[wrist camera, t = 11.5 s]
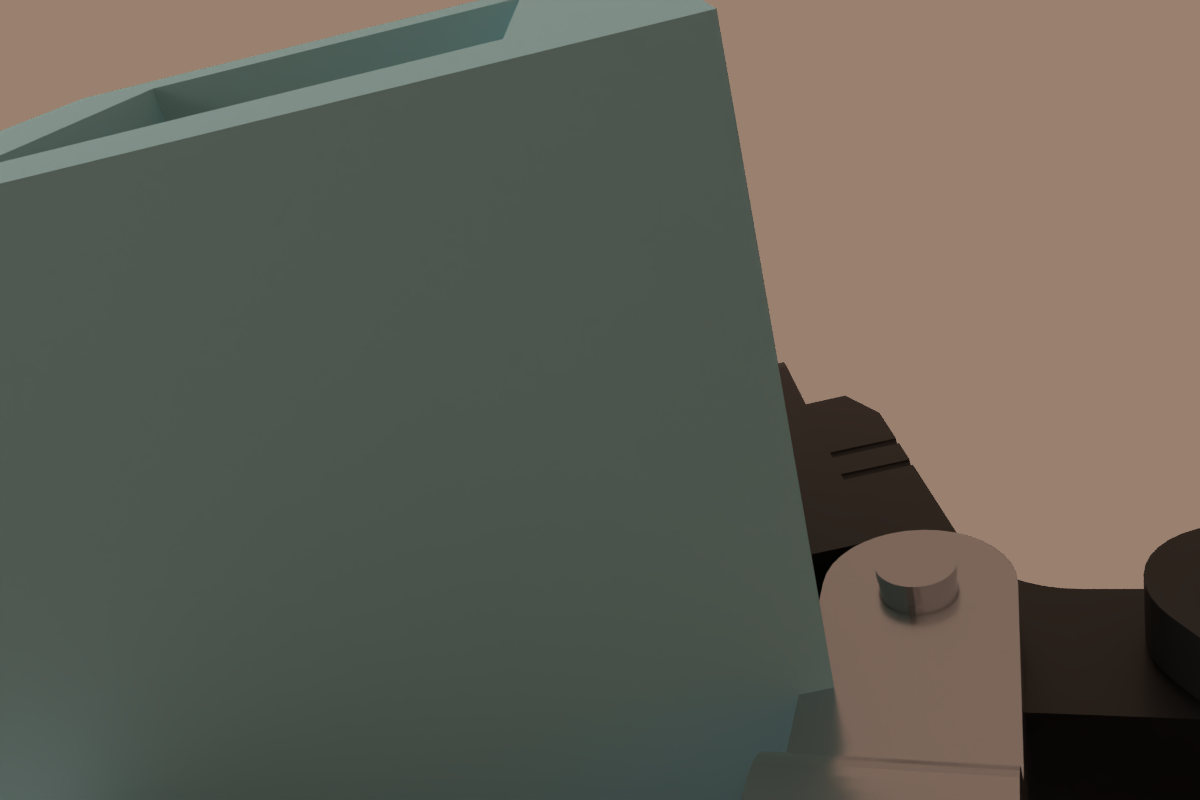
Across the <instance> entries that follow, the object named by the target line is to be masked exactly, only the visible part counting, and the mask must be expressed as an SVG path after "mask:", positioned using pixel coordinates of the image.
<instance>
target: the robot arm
mask: <svg viewBox="0 0 1200 800" xmlns="http://www.w3.org/2000/svg"><path fill="white" fill-rule="evenodd" d="M778 367H779V372H780V378H781V384H782V390H783V395H784V401H785V407H786V413H787V418H788V424H789V430H790V436H791V441H792V447H793V453H794V459H795V464H796V470H797V476H798V482H799V487H800V493H801V499H802V505H803V511H804V516H805V522H806V528H807V534H808V539H809V545H810V551H811V557H812V562H813V568H814V574H815V580H816V585H817V591H818V597H819V603H820V608H821V614H822V620H823V626H824V631H825V637H826V643H827V649H828V654H829V660H830V666H831V672H832V678H833V683H834V688H829V689H824V690H819V691H814V692H809V693H805V694H800V695H799V696H798V700H797V705H796V709H795V714H794V719H793V723H792V728H791V732H790V737H789V741H788V746H787V750H786V752H774V751H761V752H760V753H759V754H757V756H756V757H755V759H754V760H753V762H752V765H751V767H750V770H749V773H748V776H747V780H746V783H745V787H744V791H743V795H742V799H741V800H1200V528H1199V529H1196V530H1192V531H1189V532H1186V533H1183V534H1180V535H1178V536H1176V537H1174V538H1172V539H1170V540H1168V541H1167V542H1165V543H1164V544H1162V545H1161V546H1159V547H1158V548H1157V550H1155V552H1153V553H1152V554H1151V556H1150V557H1149V559H1148V561H1147V563H1146V565H1145V571H1144V589H1064V588H1055V587H1047V586H1041V585H1036V584H1032V583H1027V582H1023V581H1020V580H1017V574H1016V571H1015V569H1014V567H1013V566H1012V564H1011V562H1010V561H1009V560H1008V559H1007V558H1006V556H1005V555H1004V554H1002V553H1001V552H1000V551H999V550H997V549H996V548H995V547H993V546H991V545H989V544H987V543H985V542H984V541H981V540H978V539H976V538H973V537H971V536H967V535H963V534H959V533H956V531H955V530H954V528H953V527H952V525H951V523H950V522H949V520H948V519H947V517H946V516H945V514H944V513H943V511H942V509H941V508H940V506H939V505H938V503H937V502H936V500H935V499H934V497H933V495H932V494H931V493H930V491H929V489H928V488H927V486H926V485H925V483H924V482H923V480H922V478H921V477H920V475H919V474H918V472H917V471H916V469H915V468H914V466H913V465H910V461H909V458H908V457H907V455H906V454H905V452H904V451H903V449H902V447H901V446H900V444H899V443H898V444H897V442H896V438H895V436H894V435H893V433H892V432H891V430H890V429H889V427H888V426H887V424H886V423H885V421H884V419H883V418H882V416H881V415H880V413H878V412H876V411H874V410H873V409H870V408H868V407H866V406H864V405H863V404H861V403H859V402H857V401H854V400H852V399H851V398H849V397H847V396H842V397H838V398H833V399H829V400H824V401H820V402H815V403H810V404H805V402H804V400H803V398H802V396H801V394H800V392H799V390H798V389H797V386H796V384H795V382H794V380H793V378H792V376H791V374H790V372H789V370H788V368H787V367H786V365H785V363H784V362H783V363H778Z"/></svg>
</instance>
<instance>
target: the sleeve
mask: <svg viewBox="0 0 1200 800" xmlns="http://www.w3.org/2000/svg"><path fill="white" fill-rule="evenodd" d="M829 688H834V683H833V678H832V672H831V666H830V660H829V654H828V649H827V643H826V637H825V631H824V626H823V620H822V614H821V608H820V603H819V597H818V591H817V585H816V580H815V574H814V568H813V562H812V557H811V551H810V545H809V539H808V534H807V528H806V522H805V516H804V511H803V505H802V499H801V493H800V487H799V482H798V476H797V470H796V464H795V459H794V453H793V447H792V441H791V436H790V430H789V424H788V418H787V413H786V407H785V401H784V395H783V390H782V384H781V378H780V372H779V367H778V361H777V355H776V349H775V344H774V338H773V332H772V326H771V321H770V315H769V309H768V304H767V298H766V292H765V286H764V280H763V274H762V269H761V263H760V257H759V251H758V246H757V240H756V234H755V229H754V223H753V217H752V211H751V205H750V200H749V194H748V188H747V182H746V177H745V171H744V165H743V160H742V153H741V148H740V142H739V136H738V131H737V125H736V119H735V113H734V108H733V102H732V96H731V90H730V84H729V79H728V73H727V67H726V61H725V56H724V50H723V44H722V38H721V32H720V27H719V21H718V15H717V9H716V8H715V7H713V6H711V5H710V4H708V3H706V2H705V1H703V0H479V1H475V2H471V3H466V4H462V5H458V6H454V7H450V8H446V9H442V10H438V11H434V12H430V13H426V14H422V15H418V16H414V17H410V18H406V19H402V20H399V21H395V22H390V23H386V24H382V25H378V26H374V27H370V28H366V29H362V30H358V31H354V32H350V33H346V34H342V35H337V36H334V37H330V38H326V39H322V40H318V41H313V42H309V43H305V44H301V45H297V46H294V47H289V48H285V49H281V50H277V51H273V52H269V53H265V54H261V55H257V56H253V57H249V58H245V59H241V60H237V61H233V62H229V63H225V64H221V65H217V66H212V67H209V68H204V69H200V70H196V71H192V72H189V73H184V74H180V75H176V76H172V77H168V78H164V79H160V80H156V81H152V82H148V83H144V84H140V85H136V86H132V87H128V88H124V89H120V90H116V91H112V92H108V93H104V94H100V95H96V96H92V97H88V98H83V99H81V100H78V101H76V102H73V103H71V104H68V105H66V106H63V107H61V108H58V109H55V110H53V111H50V112H48V113H45V114H43V115H40V116H38V117H35V118H33V119H30V120H28V121H25V122H23V123H20V124H17V125H15V126H13V127H10V128H7V129H5V130H2V131H0V800H741V799H742V795H743V791H744V787H745V783H746V780H747V776H748V773H749V770H750V767H751V765H752V762H753V760H754V759H755V757H756V756H757V754H759V753H760V752H761V751H774V752H786V750H787V746H788V741H789V737H790V732H791V728H792V723H793V719H794V714H795V709H796V705H797V700H798V696H799V695H800V694H805V693H809V692H814V691H819V690H824V689H829Z"/></svg>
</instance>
